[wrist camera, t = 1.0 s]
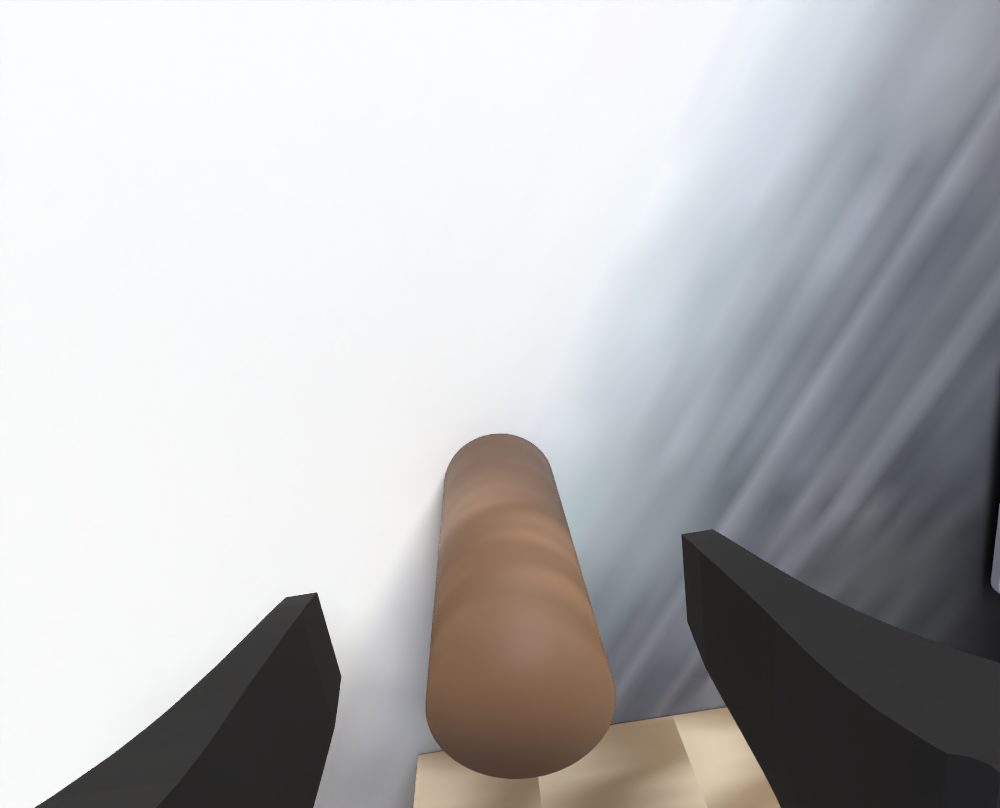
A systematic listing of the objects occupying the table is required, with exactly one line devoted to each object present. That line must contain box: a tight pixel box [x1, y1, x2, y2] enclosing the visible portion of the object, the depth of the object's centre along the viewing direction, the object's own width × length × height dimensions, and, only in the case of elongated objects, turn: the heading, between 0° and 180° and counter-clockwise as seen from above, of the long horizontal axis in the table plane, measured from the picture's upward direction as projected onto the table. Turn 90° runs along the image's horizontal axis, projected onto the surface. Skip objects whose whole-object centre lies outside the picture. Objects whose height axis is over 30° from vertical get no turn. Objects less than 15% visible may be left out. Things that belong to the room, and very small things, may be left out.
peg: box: [426, 434, 616, 779], centre depth 14 cm, size 3×3×8 cm
